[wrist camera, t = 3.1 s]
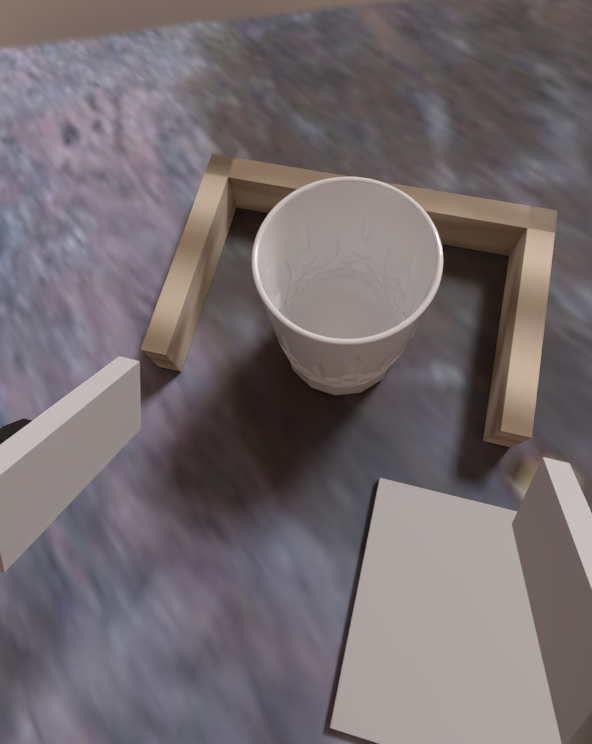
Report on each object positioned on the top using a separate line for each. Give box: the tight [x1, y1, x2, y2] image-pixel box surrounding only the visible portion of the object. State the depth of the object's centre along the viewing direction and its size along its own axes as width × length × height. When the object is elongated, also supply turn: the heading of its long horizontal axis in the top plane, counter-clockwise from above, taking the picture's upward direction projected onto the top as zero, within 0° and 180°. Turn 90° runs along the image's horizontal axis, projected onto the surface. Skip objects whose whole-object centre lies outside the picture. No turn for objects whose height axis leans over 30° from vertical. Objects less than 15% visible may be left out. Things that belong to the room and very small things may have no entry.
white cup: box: [252, 177, 443, 396], centre depth 25 cm, size 8×8×10 cm
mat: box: [330, 478, 562, 744], centre depth 24 cm, size 12×12×1 cm
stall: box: [141, 154, 557, 447], centre depth 29 cm, size 14×21×3 cm, turn 76°
